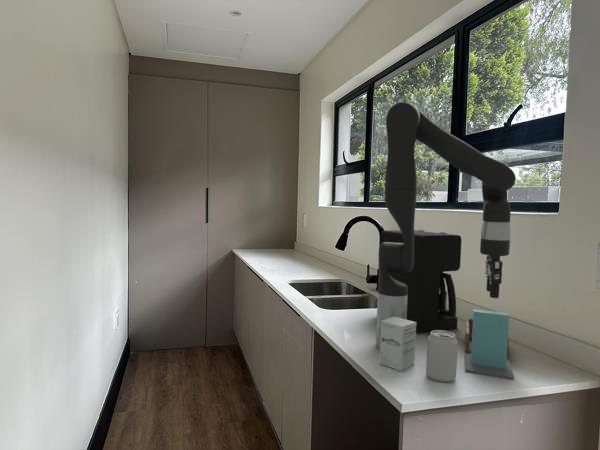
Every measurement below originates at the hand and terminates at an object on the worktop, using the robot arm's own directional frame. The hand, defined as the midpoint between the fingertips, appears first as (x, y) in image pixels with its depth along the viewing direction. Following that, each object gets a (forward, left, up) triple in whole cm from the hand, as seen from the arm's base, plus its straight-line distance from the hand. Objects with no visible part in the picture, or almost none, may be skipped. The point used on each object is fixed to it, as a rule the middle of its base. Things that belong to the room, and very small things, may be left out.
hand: (492, 294), depth 120 cm
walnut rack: (+15, 0, -20) cm, 26 cm away
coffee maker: (+34, +22, -21) cm, 46 cm away
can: (-15, +12, -21) cm, 29 cm away
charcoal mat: (-1, 0, -20) cm, 20 cm away
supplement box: (-11, +24, -21) cm, 34 cm away
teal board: (-2, 0, -20) cm, 20 cm away
